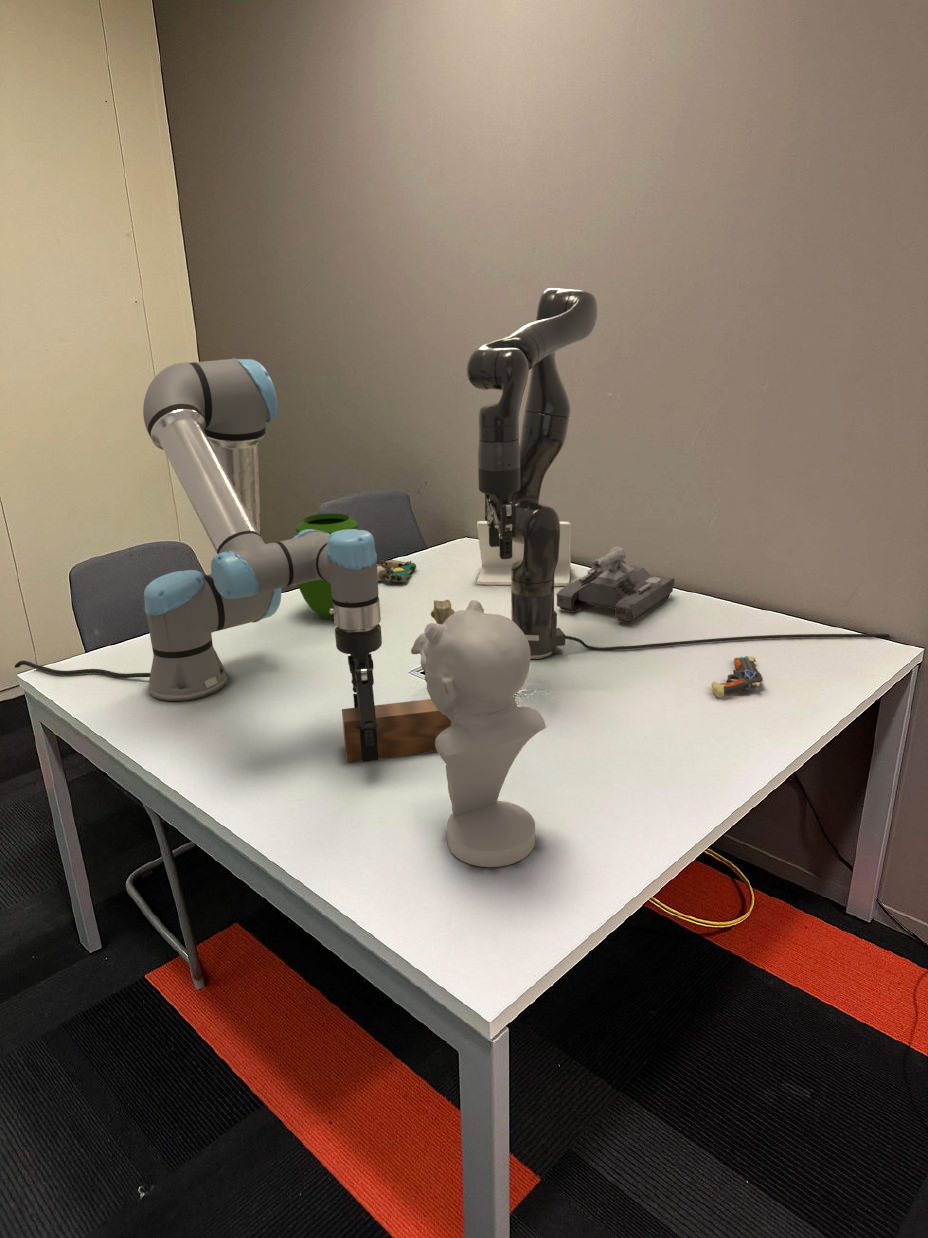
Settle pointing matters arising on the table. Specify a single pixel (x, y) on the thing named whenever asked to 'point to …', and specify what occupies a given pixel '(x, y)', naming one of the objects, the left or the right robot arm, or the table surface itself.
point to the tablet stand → (518, 558)
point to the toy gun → (739, 677)
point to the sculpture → (441, 611)
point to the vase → (320, 590)
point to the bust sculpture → (481, 729)
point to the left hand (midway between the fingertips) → (366, 743)
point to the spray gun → (394, 570)
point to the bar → (397, 729)
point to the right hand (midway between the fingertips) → (500, 552)
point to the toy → (616, 588)
